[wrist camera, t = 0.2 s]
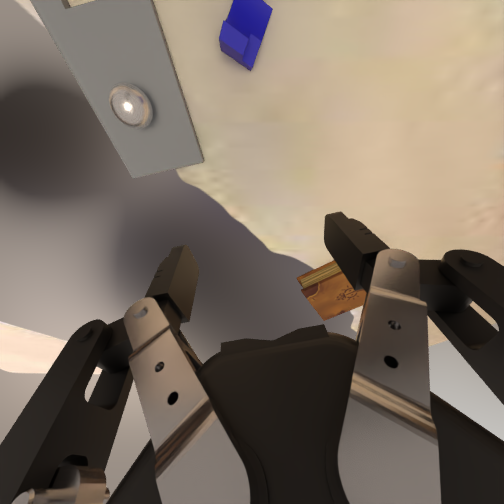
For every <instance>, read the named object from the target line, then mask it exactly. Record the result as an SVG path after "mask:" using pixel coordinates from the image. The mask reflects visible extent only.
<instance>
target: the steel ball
mask: <svg viewBox="0 0 504 504" xmlns="http://www.w3.org/2000/svg"><path fill="white" fill-rule="evenodd" d="M109 103H110V107H111V109H112V112H113V113H114V115H115V116H116V117H117V119H118V120H119V121H120V122H122V123H123V124H124V125H126V126H128V127H130V128H133V129H143V128H145V127H147V126H148V125H149V124H150V122H151V120H152V116H153V111H152V106H151V103H150V101H149V99H148V98H147V96H146V95H145V94H144V92H143V91H142V90H140V89H139V88H138V87H136V86H135V85H132V84H130V83H118V84H116V85H114V86H113V87H112V89H111V90H110V93H109Z"/></svg>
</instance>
